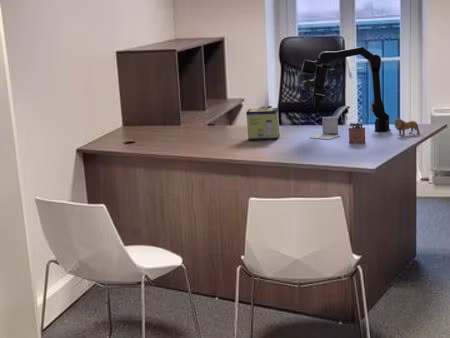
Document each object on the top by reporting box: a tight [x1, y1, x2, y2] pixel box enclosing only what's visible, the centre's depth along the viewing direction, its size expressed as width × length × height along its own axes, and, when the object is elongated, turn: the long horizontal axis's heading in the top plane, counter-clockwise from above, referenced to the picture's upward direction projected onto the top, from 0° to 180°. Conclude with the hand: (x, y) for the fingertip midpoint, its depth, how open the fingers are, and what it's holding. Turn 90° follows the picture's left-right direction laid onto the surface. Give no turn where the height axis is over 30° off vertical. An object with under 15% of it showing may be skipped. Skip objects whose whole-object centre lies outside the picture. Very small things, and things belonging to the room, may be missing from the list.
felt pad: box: [309, 133, 340, 141], centre depth 368 cm, size 12×10×1 cm
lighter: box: [347, 122, 367, 145], centre depth 345 cm, size 8×3×10 cm, turn 71°
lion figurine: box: [393, 118, 420, 137], centre depth 357 cm, size 15×5×9 cm, turn 113°
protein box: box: [246, 107, 281, 142], centre depth 374 cm, size 10×16×16 cm
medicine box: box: [321, 116, 339, 135], centre depth 374 cm, size 8×4×9 cm, turn 85°
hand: (314, 105), depth 371 cm, fingers open, 9 cm apart
